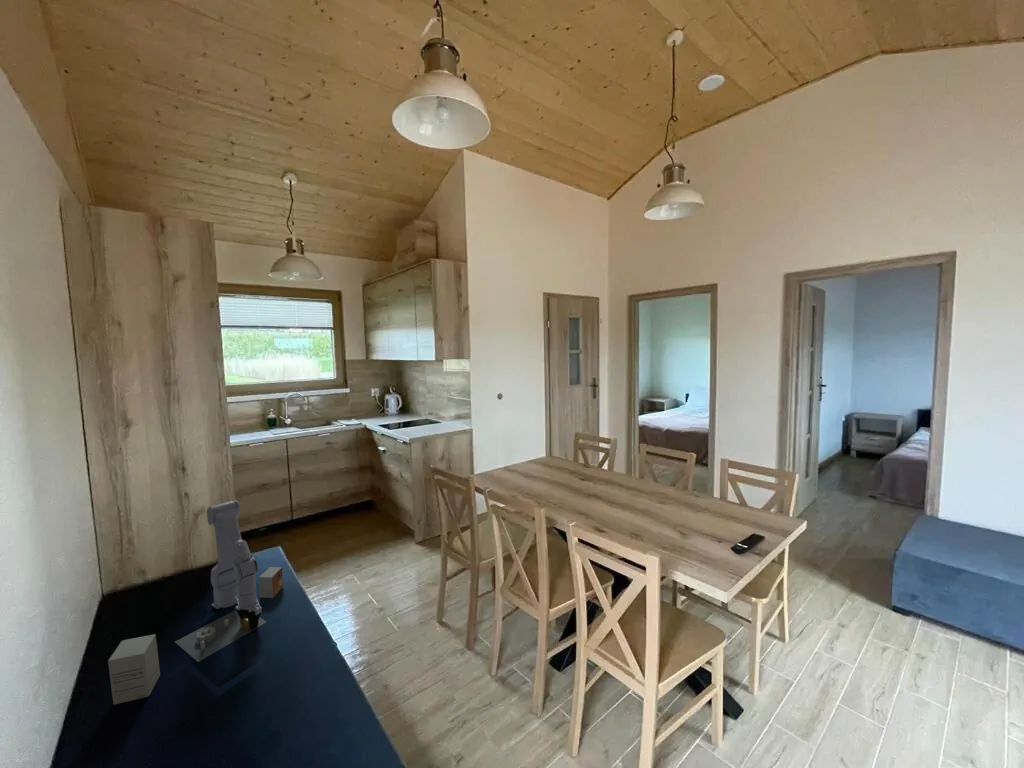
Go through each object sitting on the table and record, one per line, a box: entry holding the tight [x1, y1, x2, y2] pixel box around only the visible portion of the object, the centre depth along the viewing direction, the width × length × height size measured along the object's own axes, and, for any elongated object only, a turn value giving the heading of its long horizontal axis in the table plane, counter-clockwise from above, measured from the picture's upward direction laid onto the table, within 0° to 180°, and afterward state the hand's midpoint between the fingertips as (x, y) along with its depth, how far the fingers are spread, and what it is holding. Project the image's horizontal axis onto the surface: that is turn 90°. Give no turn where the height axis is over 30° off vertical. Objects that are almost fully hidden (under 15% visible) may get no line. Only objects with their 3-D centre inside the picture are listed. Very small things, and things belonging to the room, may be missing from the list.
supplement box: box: [107, 633, 161, 705], centre depth 133 cm, size 9×9×15 cm
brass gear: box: [240, 610, 251, 631], centre depth 161 cm, size 6×6×4 cm
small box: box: [258, 566, 284, 599], centre depth 180 cm, size 8×6×10 cm
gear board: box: [174, 609, 267, 663], centre depth 157 cm, size 17×23×4 cm
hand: (249, 624), depth 161 cm, fingers closed on brass gear, 6 cm apart
